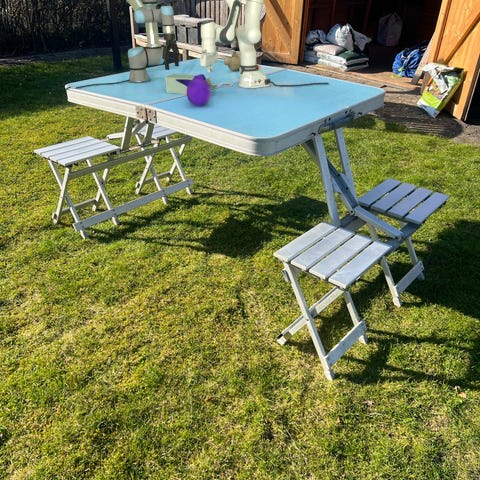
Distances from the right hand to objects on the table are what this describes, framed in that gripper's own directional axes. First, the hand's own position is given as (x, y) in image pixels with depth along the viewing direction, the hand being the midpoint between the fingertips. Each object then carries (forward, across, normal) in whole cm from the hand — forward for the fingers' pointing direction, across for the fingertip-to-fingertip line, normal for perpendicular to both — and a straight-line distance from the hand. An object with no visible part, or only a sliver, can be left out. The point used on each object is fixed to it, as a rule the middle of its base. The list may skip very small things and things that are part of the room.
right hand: (209, 72), depth 291 cm
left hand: (-1, 0, +27) cm, 27 cm away
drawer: (+13, 0, +8) cm, 15 cm away
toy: (+14, -27, -2) cm, 31 cm away
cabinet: (+14, 0, +20) cm, 24 cm away
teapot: (+14, +83, +14) cm, 85 cm away
